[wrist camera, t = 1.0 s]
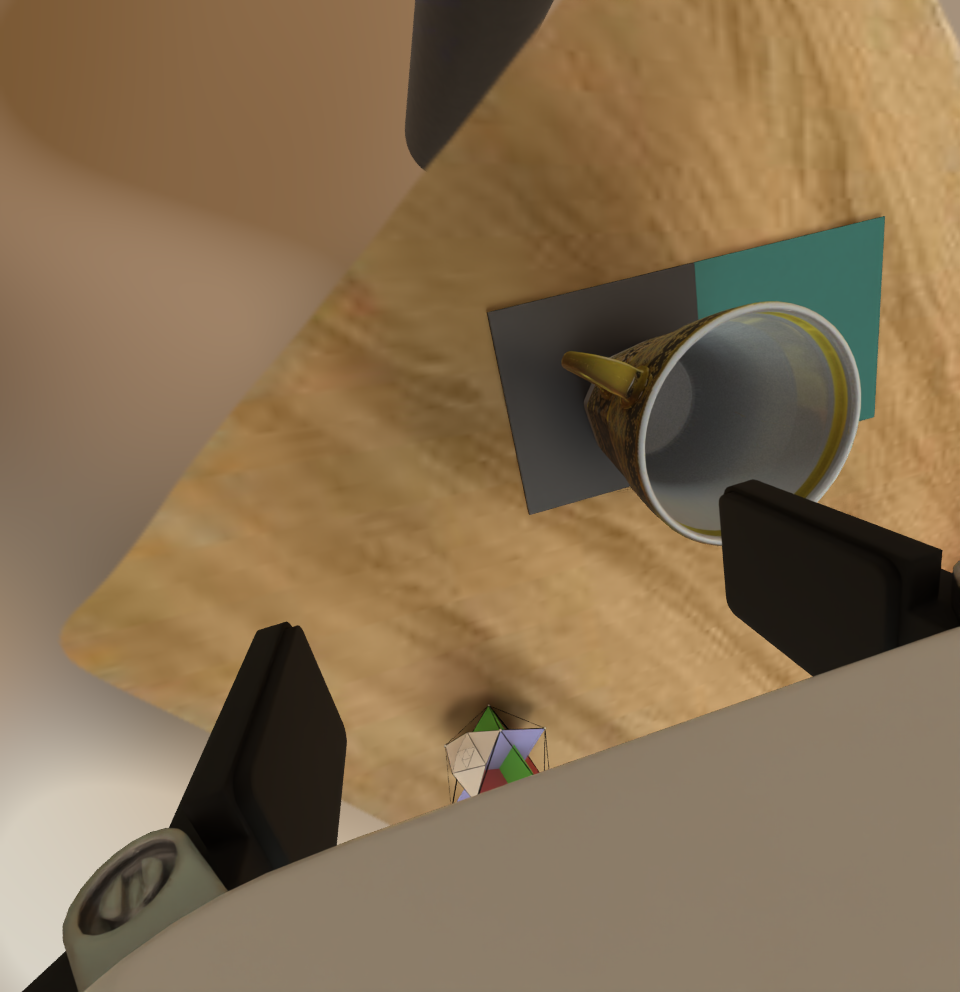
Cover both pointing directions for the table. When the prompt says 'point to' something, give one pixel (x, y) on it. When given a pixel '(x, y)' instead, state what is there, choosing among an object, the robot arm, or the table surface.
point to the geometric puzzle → (492, 755)
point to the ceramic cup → (725, 410)
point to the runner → (658, 311)
